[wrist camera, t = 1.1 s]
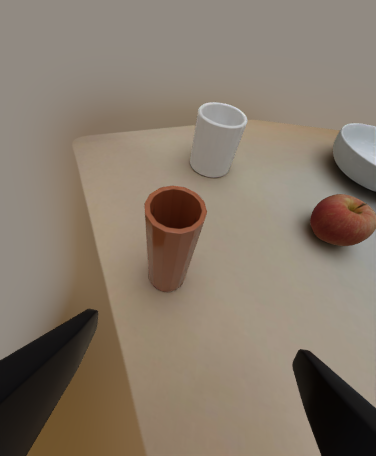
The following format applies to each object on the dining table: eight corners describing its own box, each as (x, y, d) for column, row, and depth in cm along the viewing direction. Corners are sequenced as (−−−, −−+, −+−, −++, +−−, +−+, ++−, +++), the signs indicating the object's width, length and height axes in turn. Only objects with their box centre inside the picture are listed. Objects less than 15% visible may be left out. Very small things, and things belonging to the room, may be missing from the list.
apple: (343, 264, 30) (395, 236, 23) (294, 234, 32) (330, 201, 26) (352, 233, 34) (398, 201, 28) (308, 208, 36) (342, 173, 30)
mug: (236, 151, 44) (255, 103, 36) (223, 183, 37) (242, 132, 29) (203, 139, 45) (214, 90, 37) (183, 168, 38) (191, 115, 30)
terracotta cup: (173, 299, 23) (188, 244, 13) (141, 279, 24) (130, 212, 14) (191, 268, 26) (216, 202, 16) (161, 251, 27) (166, 177, 16)
